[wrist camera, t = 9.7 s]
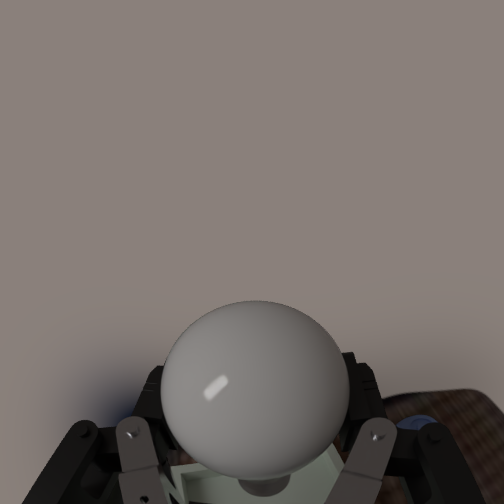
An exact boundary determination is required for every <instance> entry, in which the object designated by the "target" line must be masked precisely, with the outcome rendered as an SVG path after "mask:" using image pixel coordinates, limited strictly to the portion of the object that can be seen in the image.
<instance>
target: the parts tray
mask: <svg viewBox="0 0 504 504" xmlns="http://www.w3.org/2000/svg"><path fill="white" fill-rule="evenodd" d="M343 467H344V463H343V461H342V459H341V457H340V456H339V454H338V452H337V450H336V448H335V446H334V445H333V443H332V444H331V445H330V446H329V447H328V448H327V450H326V451H325V452H324V453H323V454H322V455H320V456H319V457H318V458H317V459H316V460H314V461H313V462H312V463H310V464H309V465H307V466H306V467H304V468H302V469H300V470H298V471H296V472H294V473H292V474H291V476H290V481H289V483H288V485H287V487H286V488H285V489H284V490H283V491H281V492H280V493H278V494H276V495H273V496H270V497H257V496H253V495H251V494H249V493H247V492H246V491H245V490H243V489H242V487H241V486H240V484H239V482H238V479H235V478H231V477H227V476H224V475H221V474H219V473H216V472H214V471H212V470H210V469H208V468H206V467H204V466H203V465H201V464H200V463H196V464H189V465H181V466H173V467H171V470H172V473H173V476H174V479H175V482H176V485H177V488H178V490H179V493H180V495H181V497H182V499H183V501H184V503H185V504H189V501H193V502H201V503H210V504H324V503H325V501H326V499H327V497H328V495H329V493H330V492H331V490H332V488H333V486H334V484H335V482H336V480H337V478H338V476H339V474H340V472H341V471H342V469H343Z"/></svg>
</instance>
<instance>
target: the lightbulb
mask: <svg viewBox="0 0 504 504" xmlns="http://www.w3.org/2000/svg"><path fill="white" fill-rule="evenodd" d="M349 397H350V383H349V375H348V370H347V367H346V363H345V360H344V358H343V355H342V353H341V351H340V349H339V347H338V346H337V345H336V343H335V341H334V340H333V338H332V337H331V336H330V335H329V333H328V332H327V331H325V329H324V328H323V327H322V326H321V325H320V324H318V323H317V322H316V321H315V320H313V319H312V318H311V317H309V316H307V315H306V314H304V313H302V312H300V311H298V310H296V309H294V308H291V307H289V306H286V305H283V304H278V303H274V302H268V301H244V302H237V303H233V304H229V305H225V306H222V307H220V308H217V309H215V310H213V311H211V312H209V313H207V314H205V315H204V316H202V317H200V318H199V319H198V320H196V321H195V322H194V323H192V324H191V325H190V326H189V327H188V328H187V329H186V330H185V331H184V332H183V333H182V334H181V336H180V337H179V338H178V339H177V341H176V342H175V344H174V345H173V347H172V349H171V351H170V353H169V355H168V357H167V359H166V362H165V365H164V369H163V373H162V378H161V403H162V409H163V413H164V416H165V419H166V422H167V424H168V427H169V429H170V431H171V432H172V434H173V436H174V437H175V439H176V440H177V442H178V443H179V444H180V446H181V447H182V448H183V449H184V450H185V451H186V452H187V453H188V454H189V455H190V456H191V457H192V458H193V459H194V460H196V461H197V462H198V463H200V464H201V465H203V466H204V467H206V468H208V469H210V470H212V471H214V472H216V473H219V474H221V475H224V476H227V477H231V478H235V479H238V482H239V484H240V486H241V487H242V489H243V490H245V491H246V492H247V493H249V494H251V495H253V496H257V497H270V496H273V495H276V494H278V493H280V492H281V491H283V490H284V489H285V488H286V487H287V485H288V483H289V481H290V476H291V474H292V473H294V472H296V471H298V470H300V469H302V468H304V467H306V466H307V465H309V464H310V463H312V462H313V461H314V460H316V459H317V458H318V457H319V456H320V455H322V454H323V453H324V452H325V451H326V450H327V448H328V447H329V446H330V445H331V444H332V442H333V441H334V439H335V438H336V436H337V435H338V433H339V431H340V429H341V427H342V425H343V423H344V420H345V417H346V414H347V410H348V405H349Z"/></svg>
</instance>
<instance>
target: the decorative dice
mask: <svg viewBox="0 0 504 504" xmlns="http://www.w3.org/2000/svg"><path fill="white" fill-rule="evenodd" d="M431 422H437V421H436V420H435V419H433V418H431V417H429V416H426V415H415V416H411V417H408V418H405V419H403V420H402V421H400V422H399V423H398V424H397V425H396V426H397V427H399V428H403V429H413V430H420V429H421V427H422V426H424V425H425V424H427V423H431ZM437 423H438V422H437Z"/></svg>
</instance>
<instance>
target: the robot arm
mask: <svg viewBox="0 0 504 504" xmlns="http://www.w3.org/2000/svg"><path fill="white" fill-rule="evenodd" d="M342 355H343V358H344V360H345V363H346V367H347V370H348V375H349V383H350V397H349V405H348V410H347V414H346V417H345V420H344V423H343V425H342V427H341V429H340V431H339V436H340V443H341V450H342V452H346V451H349V457H348V459H347V461H346V463H345V465H344V467H343V469H342V471H341V472H340V474H339V476H338V478H337V480H336V482H335V484H334V486H333V488H332V490H331V492H330V493H329V495H328V497H327V499H326V501H325V503H324V504H374V502H375V500H376V498H377V495H378V493H379V490H380V488H381V485H382V478H383V475H386V476H398V477H399V480H400V482H401V485H402V488H403V491H404V493H405V496H406V499H407V502H408V504H486V503H485V501H484V498H483V496H482V494H481V492H480V490H479V488H478V485H477V483H476V481H475V479H474V477H473V475H472V473H471V471H470V469H469V467H468V465H467V463H466V461H465V459H464V457H463V455H462V453H461V451H460V449H459V447H458V446H457V444H456V442H455V440H454V438H453V436H452V434H451V433H450V431H449V429H448V428H447V427H446V426H445V425H443V424H441V423H437V422H431V423H427V424H425V425H424V426H422V427H421V429H420V430H413V429H403V428H399V427H397V426H395V425H394V424H393V423H392V422H391V421H390V420H389V419H388V418H387V415H386V412H385V408H384V405H383V402H382V399H381V395H380V392H379V390H378V386H377V382H376V380H375V376H374V373H373V371H372V369H371V368H370V367H369V366H368V365H367V364H366V363H356V359H355V356H354V353H353V352H347V353H342ZM165 362H166V361H165ZM164 365H165V363H164ZM163 369H164V366H157V367H156V368H155V369H153V370H152V371H151V372H150V374H149V376H148V378H147V381H146V384H145V385H144V387H143V391H142V392H141V394H140V397H139V399H138V402H137V404H136V406H135V408H134V411H133V413H132V415H131V417H128V418H125V419H123V420H122V421H121V422H120V423H119V424H118V425H117V426H116V427H106V428H98V427H97V426H96V425H95V423H93V422H92V421H89V420H81V421H78V422H77V423H75V424H74V425H73V426H72V427H71V428H70V430H69V431H68V433H67V434H66V435H65V437H64V438H63V440H62V441H61V443H60V445H59V446H58V447H57V449H56V451H55V452H54V454H53V455H52V457H51V458H50V460H49V461H48V463H47V464H46V466H45V467H44V469H43V471H42V472H41V474H40V475H39V477H38V478H37V480H36V482H35V483H34V485H33V486H32V488H31V490H30V491H29V493H28V495H27V496H26V498H25V499H24V501H23V503H22V504H105V503H106V501H107V499H108V497H109V495H110V493H111V491H112V489H113V487H114V485H115V483H116V481H117V479H118V477H119V483H120V488H121V492H122V497H123V501H124V504H185V503H184V501H183V499H182V497H181V495H180V493H179V490H178V488H177V485H176V482H175V479H174V476H173V473H172V470H171V467H170V464H169V461H168V458H167V453H168V450H169V449H172V450H177V448H178V445H179V443H178V442H177V440H176V439H175V437H174V436H173V434H172V432H171V431H170V429H169V427H168V424H167V422H166V419H165V416H164V413H163V409H162V403H161V378H162V373H163ZM189 504H210V503H201V502H193V501H189Z"/></svg>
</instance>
